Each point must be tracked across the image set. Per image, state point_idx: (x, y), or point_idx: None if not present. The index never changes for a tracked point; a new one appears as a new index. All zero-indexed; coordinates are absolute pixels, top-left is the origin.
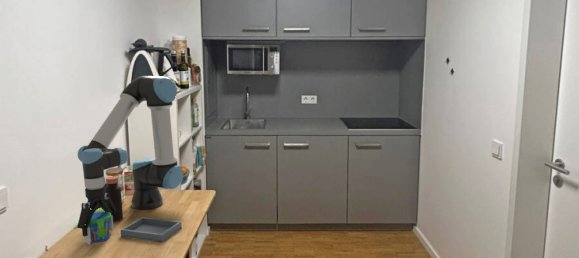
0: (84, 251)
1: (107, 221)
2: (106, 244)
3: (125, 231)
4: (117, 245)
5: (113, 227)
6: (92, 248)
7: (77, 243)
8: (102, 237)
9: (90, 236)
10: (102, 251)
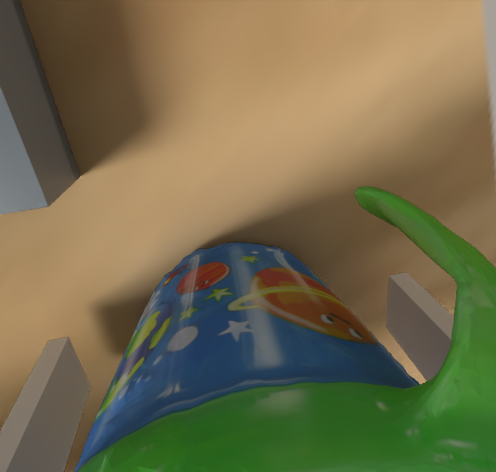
0: (481, 220)
1: (263, 380)
2: (307, 159)
3: (18, 109)
4: (285, 6)
5: (37, 361)
6: None
7: None
8: (287, 260)
9: (429, 316)
10: (462, 54)
